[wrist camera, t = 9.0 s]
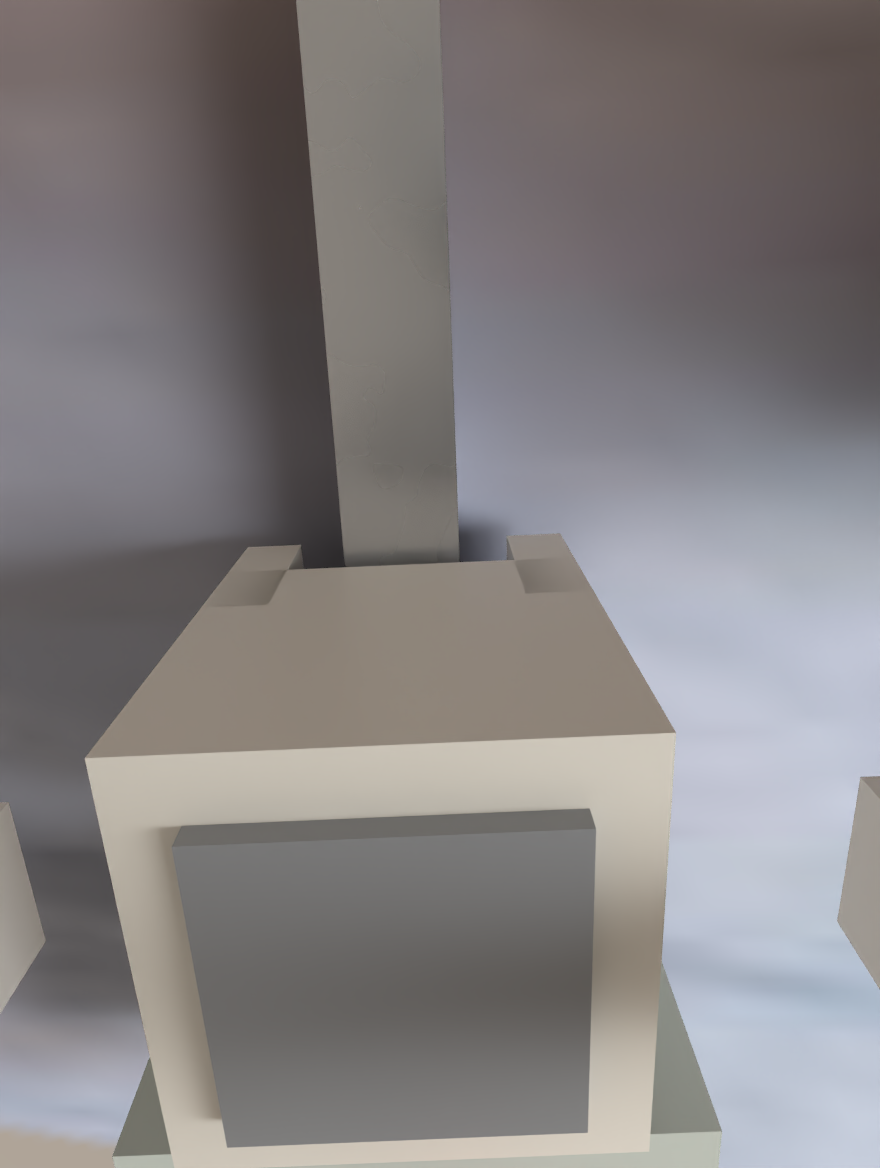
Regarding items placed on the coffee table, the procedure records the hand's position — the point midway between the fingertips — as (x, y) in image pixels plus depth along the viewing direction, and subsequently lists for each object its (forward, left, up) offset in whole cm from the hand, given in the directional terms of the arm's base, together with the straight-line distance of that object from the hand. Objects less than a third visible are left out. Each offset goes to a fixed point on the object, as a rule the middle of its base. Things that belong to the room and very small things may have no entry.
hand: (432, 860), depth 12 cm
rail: (-4, 0, -8) cm, 9 cm away
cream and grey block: (0, 0, -7) cm, 7 cm away
